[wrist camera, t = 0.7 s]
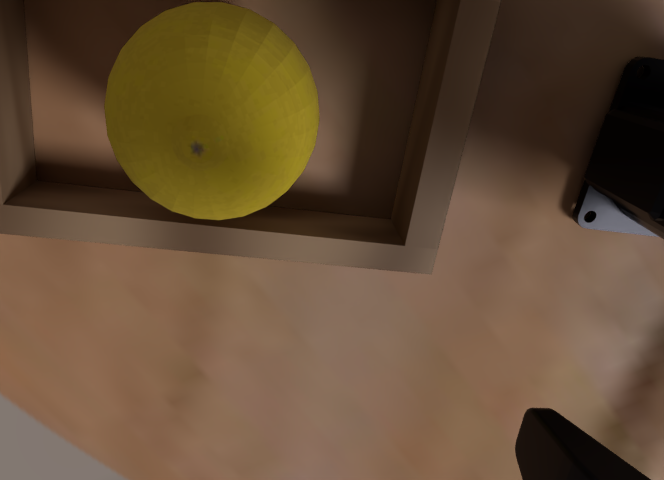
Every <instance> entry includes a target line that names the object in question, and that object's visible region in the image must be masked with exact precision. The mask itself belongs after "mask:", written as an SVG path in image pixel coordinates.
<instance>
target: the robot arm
mask: <svg viewBox="0 0 664 480" xmlns="http://www.w3.org/2000/svg"><path fill="white" fill-rule="evenodd" d="M641 66H643V68H644V70H643V73H642V75H641V76H640V77H637V71H638V69H639V68H640V67H641ZM584 177H585V181H584V183H583V186H582V189H581V192H580V195H579V197H578V200H577V203H576V206H575V209H574V211H573V219H574V221H575V222H576V223H577V224H578V225H580V226H581V227H583V228H587V229H596V230H605V231H613V232H622V233H631V234H640V235H648V236H657V237H661V238H663V239H664V60H661V59H655V58H649V57H635V58H633V59H631V60H630V61H629V62H628V63H627V65H626V67H625V68H624V71H623V74H622V77H621V79H620V82H619V85H618V88H617V91H616V93H615V96H614V99H613V102H612V105H611V107H610V110H609V113H608V114H607V115H606V116H605V119H604V122H603V125H602V128H601V131H600V133H599V136H598V139H597V142H596V145H595V147H594V150H593V153H592V156H591V159H590V162H589V164H588V167H587V170H586V173H585V176H584ZM589 211H591V214H590V216H589V217H588V218H586V219H584V216H585V214H586V213H587V212H589ZM515 452H516V458H517V462H518V465H519V469H520V472H521V475H522V479H523V480H651V479H649V478H648V477H646V476H645V475H644V474H642V473H641V472H639V471H638V470H637V469H635V468H634V467H633V466H631V465H630V464H628V463H627V462H626V461H624V460H623V459H621V458H620V457H619V456H617V455H616V454H614V453H613V452H612V451H610V450H609V449H608V448H606V447H605V446H603V445H602V444H601V443H599V442H598V441H596V440H595V439H594V438H592V437H591V436H589V435H588V434H587V433H585V432H584V431H582V430H581V429H580V428H578V427H577V426H576V425H574V424H573V423H571V422H570V421H569V420H567V419H566V418H564V417H563V416H562V415H560V414H559V413H557V412H556V411H554V410H553V409H550V408H530V409H528V410H527V411H526V412H525V414H524V417H523V421H522V424H521V427H520V430H519V434H518V437H517V440H516V445H515Z"/></svg>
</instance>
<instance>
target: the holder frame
mask: <svg viewBox="0 0 664 480" xmlns="http://www.w3.org/2000/svg"><path fill="white" fill-rule="evenodd" d="M500 3H501V0H437V2H436V7H435V12H434V17H433V21H432V26H431V31H430V36H429V40H428V45H427V50H426V55H425V59H424V64H423V69H422V74H421V78H420V83H419V88H418V93H417V97H416V102H415V107H414V112H413V116H412V121H411V126H410V131H409V135H408V140H407V145H406V150H405V154H404V159H403V164H402V169H401V173H400V178H399V183H398V188H397V192H396V197H395V202H394V207H393V211H392V216H391V220H390V219H381V218H372V217H363V216H354V215H345V214H336V213H327V212H318V211H309V210H300V209H290V208H281V207H272V206H267V207H265V208H262V209H260V210H258V211H255V212H253V213H250V214H248V215H246V216H243V217H237V218H231V219H224V220H211V219H198V218H193V217H189V216H186V215H183V214H180V213H176V212H173V211H171V210H169V209H167V208H166V207H164V206H162V205H160V204H159V203H157V202H155V201H153V200H152V199H150V198H149V197H148V196H147V195H146V194H145V193H144V192H136V191H127V190H118V189H109V188H99V187H90V186H81V185H72V184H63V183H54V182H45V181H37V179H36V165H35V151H34V137H33V124H32V110H31V96H30V82H29V69H28V55H27V41H26V27H25V14H24V0H0V234H11V235H21V236H32V237H42V238H53V239H63V240H74V241H84V242H95V243H105V244H116V245H126V246H137V247H147V248H158V249H168V250H179V251H189V252H200V253H211V254H221V255H232V256H242V257H253V258H263V259H274V260H284V261H295V262H305V263H316V264H326V265H337V266H347V267H358V268H368V269H379V270H389V271H400V272H410V273H421V274H432V270H433V266H434V262H435V258H436V255H437V251H438V247H439V243H440V239H441V235H442V231H443V227H444V223H445V219H446V215H447V211H448V207H449V203H450V200H451V196H452V192H453V188H454V184H455V180H456V176H457V172H458V168H459V164H460V160H461V156H462V152H463V149H464V145H465V141H466V137H467V133H468V129H469V125H470V121H471V117H472V113H473V109H474V105H475V101H476V98H477V94H478V90H479V86H480V82H481V78H482V74H483V70H484V66H485V62H486V58H487V54H488V50H489V47H490V43H491V39H492V35H493V31H494V27H495V23H496V19H497V15H498V11H499V7H500Z"/></svg>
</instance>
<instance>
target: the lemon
mask: <svg viewBox="0 0 664 480" xmlns="http://www.w3.org/2000/svg"><path fill="white" fill-rule="evenodd" d="M104 109H105V117H106V126H107V135H108V138H109V141H110V143H111V146H112V148H113V151H114V154H115V156H116V159H117V161H118V162H119V164H120V165H121V167H122V168H123V169H124V171H125V172H126V174H127V175H128V177H129V178H130V180H131V181H132V182H133V183H134V184H135V185H136V186H137V187H138V188H139V189H141V190H142V191H143V192H144V193H145V194H146V195H147V196H148V197H149V198H150V199H152V200H153V201H155V202H157V203H159V204H160V205H162V206H164V207H166V208H167V209H169V210H171V211H173V212H176V213H180V214H183V215H186V216H189V217H193V218H198V219H211V220H224V219H231V218H237V217H243V216H246V215H248V214H250V213H253V212H255V211H258V210H260V209H262V208H265V207H267V206H268V205H269V204H271V203H272V202H273V201H275V200H276V199H277V198H279V197H280V196H281V195H283V194H284V193H285V192H287V191H288V189H289V188H290V187H291V186H292V185H293V183H294V182H295V181H296V180H297V178H298V177H299V176H300V175H301V173H302V172H303V171H304V169H305V167H306V165H307V162H308V160H309V158H310V156H311V153H312V151H313V149H314V147H315V142H316V137H317V131H318V125H319V106H318V93H317V89H316V86H315V83H314V80H313V77H312V74H311V71H310V68H309V65H308V64H307V62H306V61H305V59H304V57H303V56H302V54H301V53H300V51H299V50H298V48H297V46H296V45H295V43H294V42H293V41H292V40H291V39H290V38H289V37H288V36H287V35H286V34H285V33H284V32H283V31H281V30H280V29H279V28H278V27H277V26H276V25H275V24H274V23H273V22H271V21H269V20H267V19H266V18H264V17H262V16H260V15H259V14H257V13H255V12H253V11H251V10H250V9H246V8H243V7H239V6H235V5H231V4H227V3H224V2H193V3H189V4H186V5H182V6H179V7H176V8H172V9H169V10H165V11H164V12H162V13H161V14H159V15H157V16H156V17H154V18H153V19H151V20H150V21H148V22H147V23H145V24H144V25H142V26H141V27H140V28H139V29H138V30H137V31H136V32H135V34H134V35H133V36H132V37H131V38H130V39H129V40H128V42H127V43H126V44H125V45H124V46H123V47H122V49H121V50H120V53H119V55H118V57H117V59H116V61H115V64H114V66H113V68H112V70H111V72H110V75H109V78H108V83H107V90H106V97H105V104H104Z"/></svg>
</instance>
